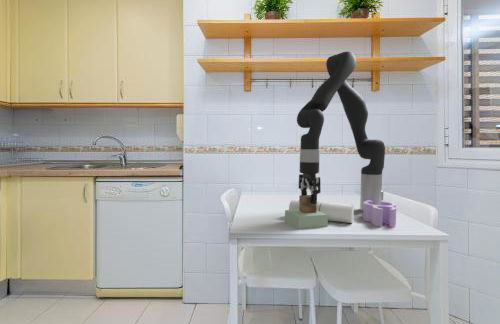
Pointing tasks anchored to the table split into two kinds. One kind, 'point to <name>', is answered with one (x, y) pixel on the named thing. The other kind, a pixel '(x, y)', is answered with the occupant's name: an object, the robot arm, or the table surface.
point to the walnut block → (306, 204)
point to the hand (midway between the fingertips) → (308, 202)
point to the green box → (306, 219)
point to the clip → (380, 213)
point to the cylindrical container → (331, 210)
